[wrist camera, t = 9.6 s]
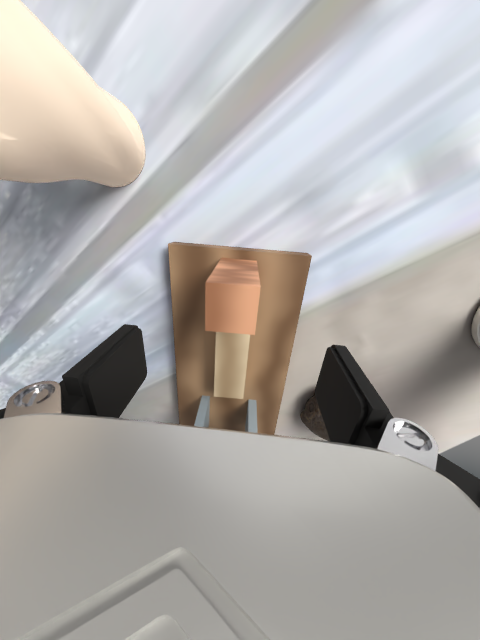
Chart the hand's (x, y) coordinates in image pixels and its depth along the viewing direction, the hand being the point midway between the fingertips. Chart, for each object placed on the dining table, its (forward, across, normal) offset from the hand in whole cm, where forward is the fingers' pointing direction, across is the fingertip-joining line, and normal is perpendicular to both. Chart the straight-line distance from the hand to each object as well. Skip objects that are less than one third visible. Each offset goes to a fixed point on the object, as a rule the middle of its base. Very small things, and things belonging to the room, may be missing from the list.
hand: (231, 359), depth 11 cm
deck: (+18, +1, +16) cm, 25 cm away
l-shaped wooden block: (+16, +1, +7) cm, 18 cm away
